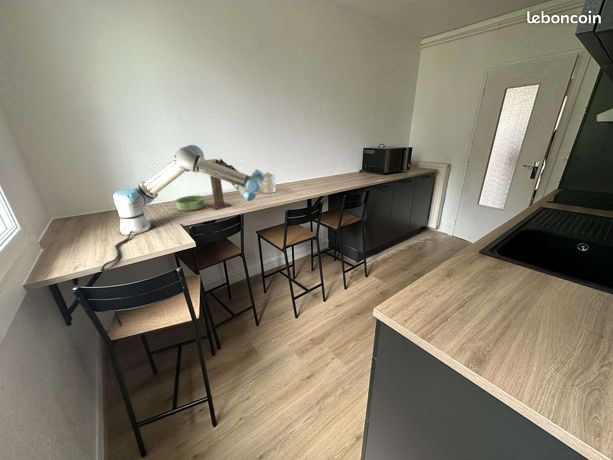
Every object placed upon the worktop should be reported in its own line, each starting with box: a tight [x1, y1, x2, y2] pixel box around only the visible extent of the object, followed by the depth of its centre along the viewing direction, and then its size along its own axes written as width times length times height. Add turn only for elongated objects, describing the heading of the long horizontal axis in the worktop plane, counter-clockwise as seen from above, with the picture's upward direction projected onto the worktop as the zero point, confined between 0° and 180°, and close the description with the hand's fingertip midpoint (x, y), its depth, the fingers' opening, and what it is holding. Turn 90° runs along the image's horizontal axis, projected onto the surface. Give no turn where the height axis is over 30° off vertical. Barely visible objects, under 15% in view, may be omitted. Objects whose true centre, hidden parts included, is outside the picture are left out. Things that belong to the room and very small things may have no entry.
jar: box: [260, 171, 277, 194], centre depth 222 cm, size 13×13×18 cm
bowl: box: [175, 194, 206, 212], centre depth 186 cm, size 20×20×6 cm
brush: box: [207, 158, 227, 167], centre depth 173 cm, size 17×6×4 cm, turn 49°
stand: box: [207, 175, 232, 211], centre depth 183 cm, size 12×12×30 cm
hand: (218, 160), depth 171 cm, fingers closed on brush, 2 cm apart
